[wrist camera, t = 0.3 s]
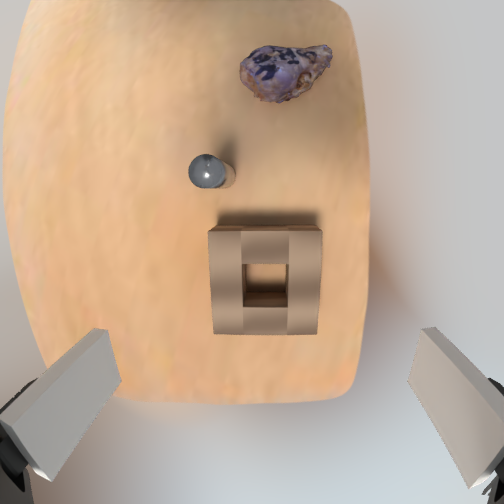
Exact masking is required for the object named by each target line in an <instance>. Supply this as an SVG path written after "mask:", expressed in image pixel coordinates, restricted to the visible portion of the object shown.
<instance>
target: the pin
mask: <svg viewBox="0 0 504 504" xmlns="http://www.w3.org/2000/svg"><path fill="white" fill-rule="evenodd" d="M235 177H236V175H235V171H234V169H233V168H232V167H231V166H229V165H228V164H226V163H224V162H223V161H221V160H219V159H218V158H216V157H214V156H212V155H209V154H203V155H200V156H198V157H196V158H195V159H194V160H193V161H192V162H191V164H190V166H189V178H190V180H191V181H192V183H193V184H194V185H196V186H197V187H200V188H223V189H224V188H228V187H230V186H231V185H232V184H233V183H234V181H235Z"/></svg>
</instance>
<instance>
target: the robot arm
mask: <svg viewBox="0 0 504 504" xmlns="http://www.w3.org/2000/svg"><path fill="white" fill-rule="evenodd" d="M407 382H408V383H409V385H410V387H411V388H412V390H413V391H414V393H415V395H416V396H417V398H418V399H419V401H420V403H421V405H422V406H423V408H424V409H425V411H426V413H427V414H428V416H429V418H430V419H431V421H432V423H433V425H434V426H435V428H436V430H437V432H438V433H439V435H440V436H441V438H442V440H443V442H444V444H445V446H446V447H447V449H448V451H449V453H450V455H451V457H452V458H453V460H454V462H455V464H456V466H457V467H458V469H459V471H460V473H461V475H462V477H463V479H464V481H465V483H466V485H467V487H468V489H471V488H473V487H475V486H477V485H479V484H480V483H482V482H484V481H486V480H487V478H488V477H489V476H490V475H491V474H492V472H493V471H494V470H495V472H496V473H497V476H496V477H495V478H494V479H493V480H492V482H491V483H490V484H489V485H488V486H487V487H486V488H485V489H484V491H483V493H482V495H485V494H486V492H487V491H488V490H489V489H490V488H491V487H492V488H491V492H490V493H489V494H488V495H489V500H488V503H487V504H504V387H503V386H502V385H501V384H500V383H498V382H496V381H494V380H493V379H491V378H488V379H487V378H486V377H485V376H484V375H483V374H482V373H481V371H480V370H478V368H477V367H476V366H475V365H474V364H473V363H472V362H471V361H470V360H469V359H468V358H467V357H466V356H465V355H464V354H463V353H462V352H461V351H459V349H458V348H457V347H456V346H455V345H454V344H453V343H452V342H450V341H449V339H447V338H446V337H445V336H444V335H443V334H442V333H441V332H440V331H439V330H438V329H437V328H436V327H431V328H425V329H421V331H420V336H419V340H418V345H417V348H416V352H415V356H414V360H413V364H412V367H411V371H410V374H409V378H408V381H407ZM120 383H121V377H120V374H119V371H118V367H117V364H116V360H115V357H114V353H113V349H112V345H111V341H110V337H109V333H108V330H103V329H95V328H94V329H93V330H91V331H90V332H89V333H88V334H87V335H86V336H84V337H83V338H82V339H81V340H80V341H79V342H78V343H77V344H75V345H74V346H73V347H72V348H71V349H70V350H69V351H67V352H66V353H65V354H64V355H63V356H62V357H61V358H60V359H59V360H57V361H56V362H55V363H54V364H53V365H52V366H51V367H50V368H49V369H48V370H46V371H45V372H44V373H43V374H42V375H41V376H40V377H39V378H37V379H35V380H33V381H31V382H29V383H28V384H27V385H26V386H24V387H23V388H22V389H21V392H18V393H17V394H16V395H15V397H14V398H12V399H11V400H10V401H9V402H8V403H6V404H5V405H4V406H3V407H2V408H1V409H0V504H34V502H33V497H32V491H31V485H30V478H29V473H28V470H27V469H26V468H25V467H26V466H27V465H28V463H29V465H30V466H31V467H32V468H33V470H34V471H35V472H36V473H37V474H38V475H40V476H42V477H44V478H45V479H47V480H49V481H51V482H52V481H53V480H54V478H55V476H56V475H57V473H58V472H59V470H60V469H61V467H62V466H63V464H64V463H65V461H66V460H67V458H68V457H69V456H70V454H71V453H72V451H73V450H74V448H75V447H76V445H77V444H78V442H79V441H80V439H81V438H82V436H83V435H84V434H85V432H86V431H87V429H88V428H89V426H90V425H91V423H92V422H93V421H94V419H95V418H96V416H97V415H98V413H99V412H100V411H101V409H102V408H103V406H104V405H105V404H106V402H107V401H108V399H109V398H110V397H111V395H112V394H113V392H114V391H115V390H116V388H117V387H118V385H119V384H120Z"/></svg>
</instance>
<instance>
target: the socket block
mask: <svg viewBox="0 0 504 504" xmlns="http://www.w3.org/2000/svg"><path fill="white" fill-rule="evenodd" d="M208 249H209V269H210V287H211V303H212V317H213V330H214V334H229V335H314V334H317V326H318V313H319V299H320V282H321V261H322V230H321V229H319V228H318V227H317V226H315V225H227V226H215V227H214V228H212V229H211V230H209V231H208ZM246 264H286V292H246Z"/></svg>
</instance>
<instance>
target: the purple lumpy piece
mask: <svg viewBox="0 0 504 504" xmlns="http://www.w3.org/2000/svg"><path fill="white" fill-rule="evenodd" d="M331 59H332V50H331V49H330V48H328V47H327V45H321V46H312V47H308V48H305V49H303V48H284V47H277V46H264V47H261V48H258V49H256V50H254V51H252V53H251V54H250V56H248V57H247V58H245V59H244V60H243V62H241V63H240V78H241V81H242V83H243V84H244V85H245V86H247V87H248V88H249V89H250V90H252V91H253V92H254V97H257V98H258V97H259V98H260V101H266V102H277V103H281V102H283V101H289V100H290V99H291V98H297V97H298V96H299V94H301V93H303V92H305V91H307V90H309V89H310V88H311V86H312V83H313V81H314V80H315V79H317V78H318V77H319V76H320V75H321V74H322V72H323V70H324V69H325V67H328V68H329V67H330V63H329V61H331ZM297 85H299V88H298V87H297Z"/></svg>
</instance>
